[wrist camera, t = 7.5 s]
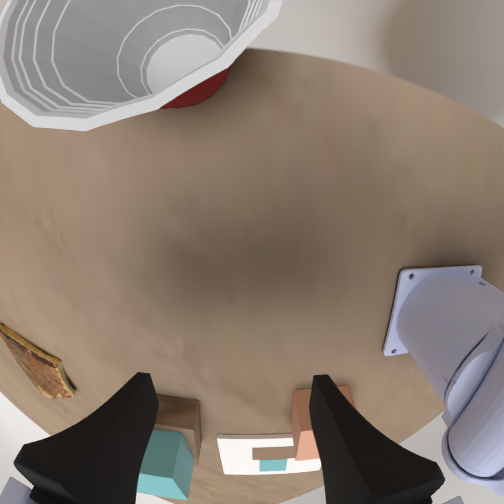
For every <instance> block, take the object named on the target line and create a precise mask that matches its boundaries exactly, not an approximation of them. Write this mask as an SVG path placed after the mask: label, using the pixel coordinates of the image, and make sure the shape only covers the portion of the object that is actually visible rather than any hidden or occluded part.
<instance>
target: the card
mask: <svg viewBox="0 0 504 504" xmlns="http://www.w3.org/2000/svg"><path fill="white" fill-rule="evenodd" d="M217 441H218V446H219V451H220V456H221V461H222V465H223V470H224V474H242V475H256V474H283V473H297V472H307V471H316V470H320V467H321V461H320V458H319V459H311V460H301V461H295V453H294V445H293V437H292V433H290V434H271V435H224V434H217Z"/></svg>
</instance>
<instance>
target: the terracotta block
mask: <svg viewBox="0 0 504 504" xmlns="http://www.w3.org/2000/svg"><path fill="white" fill-rule="evenodd" d="M337 387H338V389H339V390H340V391H341V393H342V394H343V395H344V396H345V398H346V399H347V400H348V401H349V402H350V403H351V404H352V406H353V407H354V408H355V409H356V406H355V403H354V401H353V398H352V395H351V393H350V390H349V388H348V385H343V386H337ZM310 395H311V389H303V390H294V397H293V407H292V415H291V429H292V437H293V445H294V453H295V461H301V460H311V459H319V458H320V457H319V453H318V449H317V446H316V442H315V438H314V434H313V430H312V426H311V420H310V412H309V401H310ZM356 410H357V409H356Z"/></svg>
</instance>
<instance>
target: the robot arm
mask: <svg viewBox="0 0 504 504" xmlns="http://www.w3.org/2000/svg"><path fill="white" fill-rule="evenodd" d="M471 270H472V271H471ZM470 272H471V273H470ZM410 274H412V276H411V277H410V278H409V275H410ZM481 274H482V267H481V266H479V265H470V266H454V267H436V268H417V269H404V270H402V271H401V272H400V274H399V279H398V284H397V290H396V295H395V300H394V305H393V310H392V315H391V319H390V324H389V328H388V332H387V336H386V340H385V344H384V348H383V354H384V355H385V356H392V355H398V354H404V353H409V354H410V355H411V356H412V358H413V359H414V361H415V362H416V364H417V365H418V367H419V368H420V369H421V371H422V372H423V374H424V375H425V377H426V378H427V380H428V381H429V383H430V384H431V386H432V387H433V389H434V390H435V392H436V393H437V395H438V396H439V398H440V399H441V401H442V402H443V404H444V406H445V411H444V413H443V415H442V418H443V420H444V422H445V423H446V425H447V427H448V428H447V429H446V431H445V433H444V436H443V438H442V446H441V448H442V454H443V458H444V460H445V463H446V465H447V466H448V468H449V469H450V470H451V472H452V473H453V474H454V475H455V476H457V477H458V478H459V479H461V480H463V481H465V482H468V483H471V484H476V485H482V486H486V487H488V488H490V489H492V490H493V491H494V492H496V493H497V494H498V495H500V496H504V293H503V292H502V291H500V290H499V289H497V288H496V287H494V286H493V285H491V284H490V283H488V282H487V281H485V280H484V279H482V278H481ZM393 349H394V350H393ZM392 350H393V351H392ZM158 408H159V401H158V398H157V395H156V392H155V389H154V385H153V382H152V379H151V375H150V373H141V372H137V373H136V374H135V375H134V376H133V377H132V378H131V379H130V380H129V381H128V382H127V383H126V384H125V385H124V386H123V387H122V388H121V389H120V390H119V391H118V392H116V393H115V394H114V395H113V396H112V397H111V398H110V399H109V400H108V401H107V402H105V403H104V404H103V405H102V406H101V407H99V408H98V409H97V410H96V411H94V412H93V413H92V414H90V415H89V416H88V417H86V418H84V419H83V420H81V421H80V422H78V423H77V424H75V425H73V426H71V427H69V428H67V429H66V430H64V431H62V432H60V433H57V434H55V435H53V436H50V437H48V438H45V439H42V440H39V441H35V442H31V443H28V444H24V445H23V447H22V448H21V450H20V452H19V453H18V455H17V457H16V459H15V461H14V466H15V467H16V469H17V470H18V471H19V472H20V473H21V474H22V475H23V476H24V477H25V478H26V479H27V480H28V481H29V482H31V483H32V484H33V485H34V487H33V489H32V490H31V489H30V488H29V487H27V486H26V485H24V484H22V483H21V482H19V481H18V480H16V479H14V478H13V477H10V478H9V480H8V482H7V484H6V486H5V487H4V489H3V491H2V493H1V496H0V504H135V502H136V493H137V486H138V480H139V474H140V469H141V464H142V461H143V457H144V454H145V451H146V449H147V446H148V443H149V440H150V437H151V434H152V431H153V428H154V425H155V422H156V418H157V413H158ZM309 412H310V420H311V426H312V430H313V434H314V438H315V442H316V446H317V449H318V453H319V457H320V461H321V465H322V470H323V478H324V486H325V494H326V504H432V499H431V495H432V494H434V493H435V492H436V491H437V490H438V489H439V488H440V487H441V485H443V483H444V481H445V478H444V476H443V473H442V471H441V469H440V467H439V466H438V464H437V463H436V462H434V461H431V460H429V459H426V458H424V457H421V456H419V455H417V454H415V453H412V452H410V451H409V450H407V449H405V448H403V447H402V446H400V445H398V444H397V443H395V442H394V441H392V440H390V439H389V438H388V437H386V436H385V435H384V434H382V433H381V432H380V431H378V430H377V429H376V428H375V427H374V426H372V425H371V424H370V423H369V422H368V421H367V420H366V419H365V418H364V417H363V416H362V415H361V414H360V413H359V412H358V411H357V410H356V409H355V408H354V407H353V406H352V404H351V403H350V402H349V401H348V400H347V399H346V398H345V396H344V395H343V394H342V393H341V391H340V390H339V389H338V387H337V386H336V385H335V383H334V382H333V381H332V379H331V378H330V376H329V375H327V374H325V375H314V376H313V383H312V389H311V395H310V401H309ZM443 504H464V503H463V501H462V499H461V497H460V496H457V497H455V498H453V499H451V500H449V501H447V502H445V503H443Z"/></svg>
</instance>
